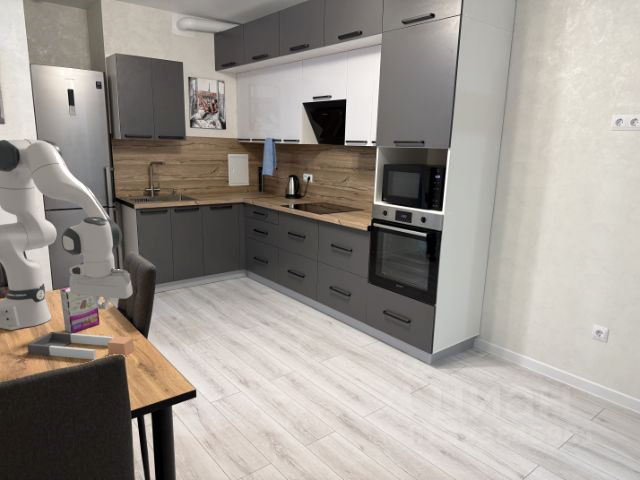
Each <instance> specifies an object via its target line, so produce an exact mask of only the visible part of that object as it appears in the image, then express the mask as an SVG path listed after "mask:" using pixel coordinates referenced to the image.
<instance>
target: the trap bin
mask: <svg viewBox="0 0 640 480" xmlns="http://www.w3.org/2000/svg"><path fill="white" fill-rule="evenodd" d="M70 334H72V333H69V332H60V331H50V332H49V333H46V334H45V335H43V336H41V337H39V338H37V339H36V340H34V341H32V342H30V343H29V344H27V345H26V346H27V351H28V352H27V353H28V354H31V355H43V356H51V355H50V352H49V347H50V346H61V347H67V346H68V345H70V344H71V336H70Z"/></svg>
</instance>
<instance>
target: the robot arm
mask: <svg viewBox="0 0 640 480" xmlns="http://www.w3.org/2000/svg"><path fill="white" fill-rule="evenodd" d="M35 187H36V188H37V190H38V191H39V192H40V193H41V194H42V195H44V196H46V197H48V198H50V199H54V200H60V201H66V202H68V203H73V204H75V205H77V206H79V207H80V208H81V209H82V210H83V211H84V213H86V215H87V216H88V217H85V218H83V219H82V220H81V221H80V223H78V224H77V225H73V226H72V225H71V226H70V227H66V229H65V230H64V231H63V233H62V235H61V244H62V248H63V250H64V251H65V252H67V253H68V254H69V255H70V256H71V255H72V256H81V255H82V256H83V262H81V263H79V264H76V265H73V266H72V267H70V268H69V274H70V276H69V287H70V291H71V292H72V294H74V295H86V296H93V300H94V301H95V302H96V304H97V309H98V310H105V311H106V310H108V309H109V305H110V304H109V303H110V302H111V299H123V300H124V299H128V298H130V297H131V296H132V295H133V292H134V291H133V285H132V280H131V274H130V273H129V271H127V270H126V269H116V266H115V256H114V253H113V251H114V250H116V249H117V248H118V247H119V246H120V243H121V242H122V239H123V234H122V230H121V228H120V227H119V225H117V223H116V222H115V221H114V220H113V219H112V218H111V217H110V216H109V214H108V213H107V211H106V210H105V208H104V207H103V205H102V203H100V201H99V200H98V199H97V197H96V196H95V194H94V193H93V192H92V190H91V189H90V188H89V186H87V184H85V183H83V182H81V181H80V180H79V179H77V178H76V177H75V176H74V174H73V173H71V171H70V169H69V167H68V166H67V165H66V162H65V160H64V159H63V154H62V150H61V148H60V147H59V145H58V144H57V143H56V142H54V141H51V140H47V139H45V140H39V139H29V138H24V139H9V140H6V139H2V140H0V208H1V210H3V211H4V212H6V213H8V214H11V215H13V216H15V217H16V222H13V223H5V224H4V223H3V224H0V263H1V265H2V267H3V268H4V271H5V275H6V279H7V284H8V287H7V288H5V289H3V290H2V293H3V294H5V297H4V298H3V299H2V300H1V301H0V329H4V330H9V331H14V330H19V329H22V328H30V327H34V326H38V325H41V324H44V323H46V322H48V321H50V320H51V319H52V318H53V317H52V315H51V312H50V309H49V306H48V302H47V299H46V286H45V283H43V275H42V267H41V265H40V263H38V262H37V261H35V260H32V259H28V258H26V257H25V255H24V252H26V251H31V250H37V249H42V248H45V247H47V246H50V245H52V244H54V242H55V241H56V239H57V229H56V227H55V225H54V224H53V223H52V222H51V221H48V220H47V219H46V218H44V217H43V216H42V214H41V213H40V211H39V210H38V207H37V199H36V189H35ZM101 297H102V298H103V301H104V302H103V301H102V300H101Z"/></svg>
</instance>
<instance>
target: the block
mask: <svg viewBox="0 0 640 480" xmlns="http://www.w3.org/2000/svg"><path fill="white" fill-rule="evenodd" d="M107 343H108V346H107V351H108V352H107V353H108V356H109V355H113V354H123V355H125V357H126V358H128V356H130V355H131V354H132V353H133V352H134V351H135V346H134V338H133V337H132V336H131V337H129V336H119V335H118V336H117V335H116V336H114V338H113V339H112V340H110V341H109V342H107ZM129 354H130V355H129ZM127 355H128V356H127Z"/></svg>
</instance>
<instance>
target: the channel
mask: <svg viewBox="0 0 640 480" xmlns="http://www.w3.org/2000/svg"><path fill="white" fill-rule="evenodd" d="M70 336H71V343H73V344H83V345H94V346H95V345H96V346H105V347H108V343H107V342H109V341H110V340H112V339H113V338H115V336H105V335H95V334H86V333H84V334H83V333H72V334H70ZM71 343H70V344H71ZM49 352H50V355H49V356H52V357H61V358H62V357H64V358H73V359H74V358H75V359H82V360H83V359H84V360H95V359H97V353H96V349H95V348H94V349H92V348H91V349H90V348H82V347H81V348H80V347H71V346H70V347H69V346H65V347H61V346H50V347H49Z"/></svg>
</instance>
